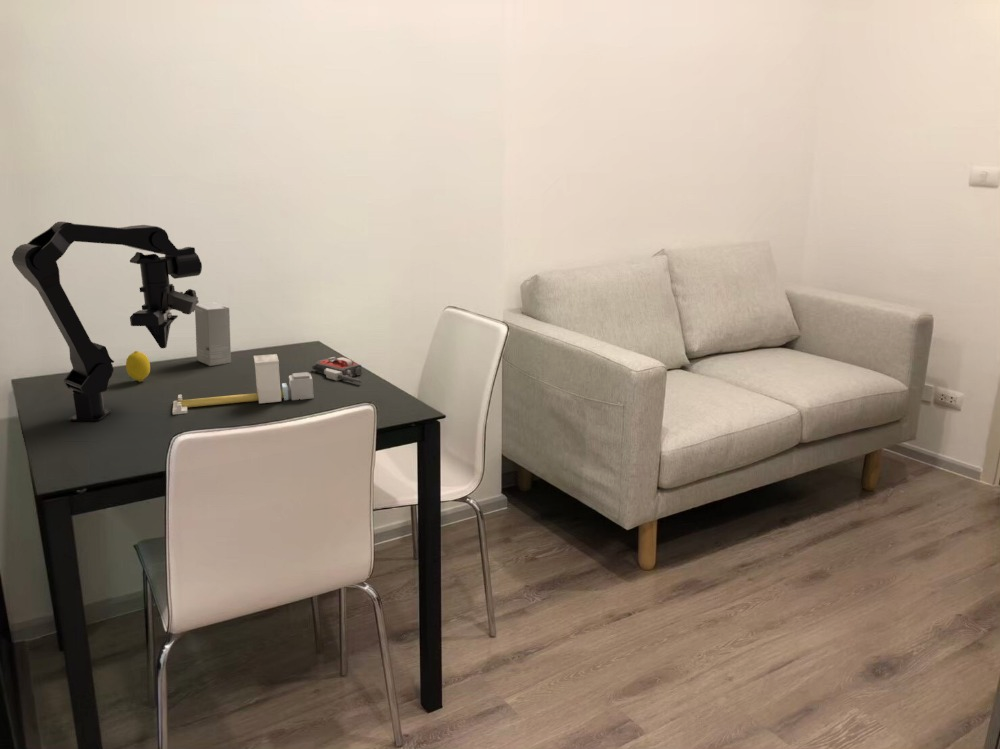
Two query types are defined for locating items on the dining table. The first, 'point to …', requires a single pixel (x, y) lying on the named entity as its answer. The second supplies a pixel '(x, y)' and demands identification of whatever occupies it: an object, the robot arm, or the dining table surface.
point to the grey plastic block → (298, 387)
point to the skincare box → (212, 333)
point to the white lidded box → (267, 378)
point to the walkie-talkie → (338, 369)
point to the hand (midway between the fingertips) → (163, 348)
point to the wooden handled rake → (212, 401)
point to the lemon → (138, 366)
